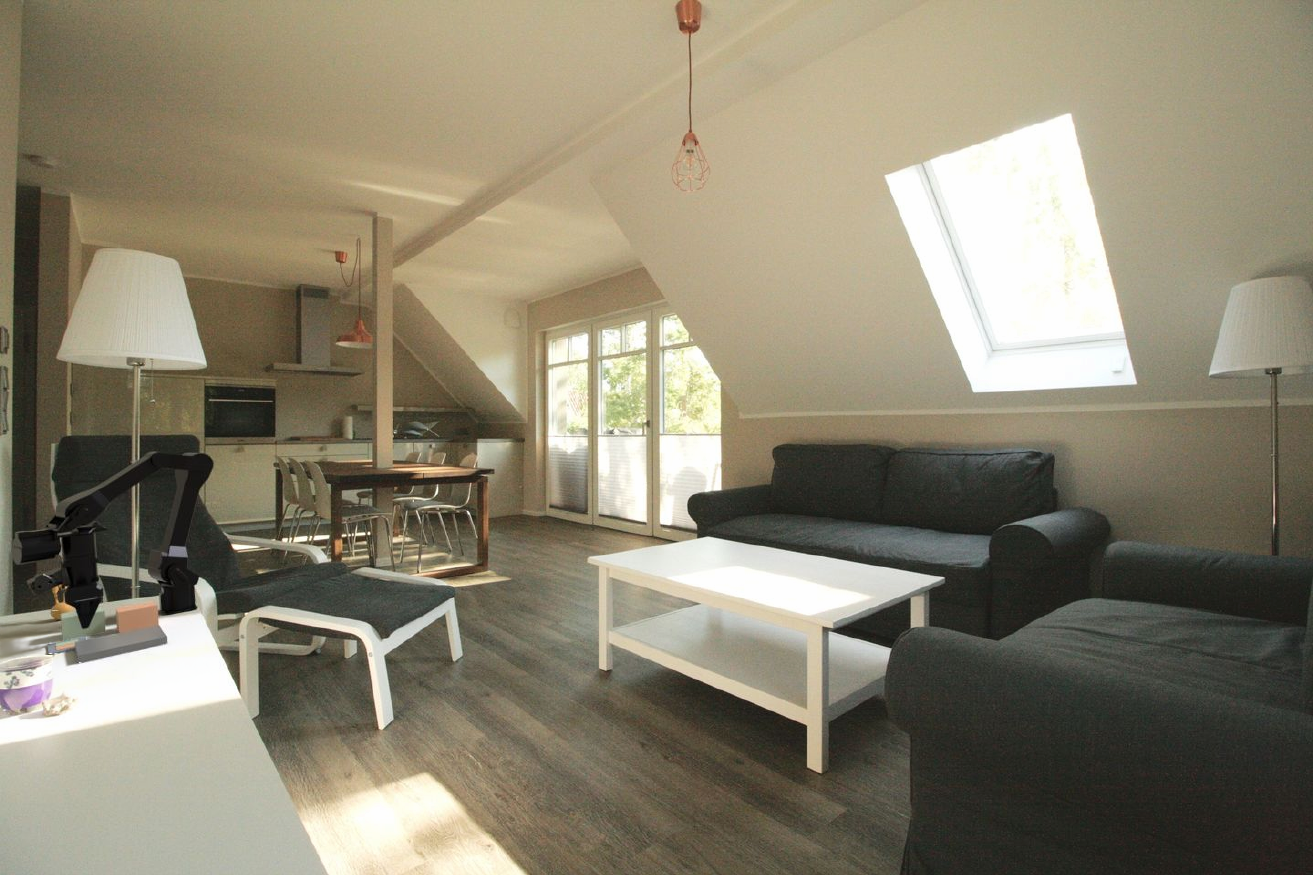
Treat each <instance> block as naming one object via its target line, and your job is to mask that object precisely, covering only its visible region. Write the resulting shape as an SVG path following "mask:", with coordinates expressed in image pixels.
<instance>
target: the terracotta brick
mask: <svg viewBox="0 0 1313 875" xmlns="http://www.w3.org/2000/svg"><path fill="white" fill-rule="evenodd" d="M115 621H116V622H115V623H116V630H117V633H122V632H127V631H132V630H136V629H141V628H146V627H151V626H156V625H159V626H160V624H159V622H160V621H159V606H158V604H157V602H156V601H155V600H151V601H146V602H139V603H135V604H130V605H124V606H120V607H119V606H117V607H115Z"/></svg>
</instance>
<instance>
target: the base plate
mask: <svg viewBox="0 0 1313 875" xmlns="http://www.w3.org/2000/svg"><path fill="white" fill-rule="evenodd" d="M166 643H167V644H168V636H167V635H166V633H165V631H164V630H163V629H162V627H161V625H160V624H159V625H156V626H151V627H146V628H141V629H136V630H132V631H127V632H122V633H119V632H117V633H112V634H109V635H108V634H107V635H103V636H98V637H92V638H88V639H87V638H86V640H82V641H77V642H75V650H74V651H75V655H76V659H77V662H78V664H80V663H79V662H82V663H87V662H91V661H95V660H99V659H100V660H101V659H104V658H108V657H109V658H110V657H113V656H118V655H122V653H123V654H127V653H132V652H136V651H140V650H145V649H149V647H150V648H155V647H159V646H163V644H164V645H167V644H166ZM158 645H159V646H158ZM154 646H155V647H154ZM126 652H127V653H126Z"/></svg>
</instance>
